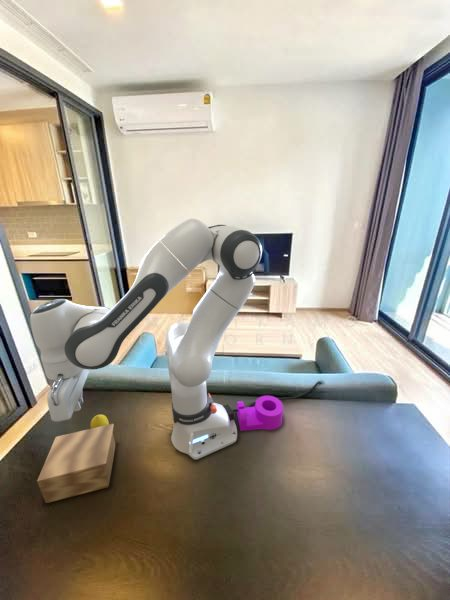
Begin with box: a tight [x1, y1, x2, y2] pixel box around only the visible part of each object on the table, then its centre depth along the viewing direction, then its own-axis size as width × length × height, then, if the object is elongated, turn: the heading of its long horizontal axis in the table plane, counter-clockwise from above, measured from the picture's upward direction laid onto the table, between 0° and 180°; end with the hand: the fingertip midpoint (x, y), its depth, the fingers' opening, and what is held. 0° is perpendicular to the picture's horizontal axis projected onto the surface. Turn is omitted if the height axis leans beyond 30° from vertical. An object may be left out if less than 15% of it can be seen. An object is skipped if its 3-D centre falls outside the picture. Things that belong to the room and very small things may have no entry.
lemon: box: [90, 414, 110, 429], centre depth 85 cm, size 6×6×8 cm
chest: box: [37, 433, 116, 504], centre depth 73 cm, size 16×14×8 cm
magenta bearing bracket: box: [236, 395, 284, 432], centre depth 91 cm, size 16×10×6 cm, turn 96°
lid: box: [36, 423, 115, 484], centre depth 71 cm, size 16×14×1 cm
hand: (78, 407), depth 67 cm, fingers closed
